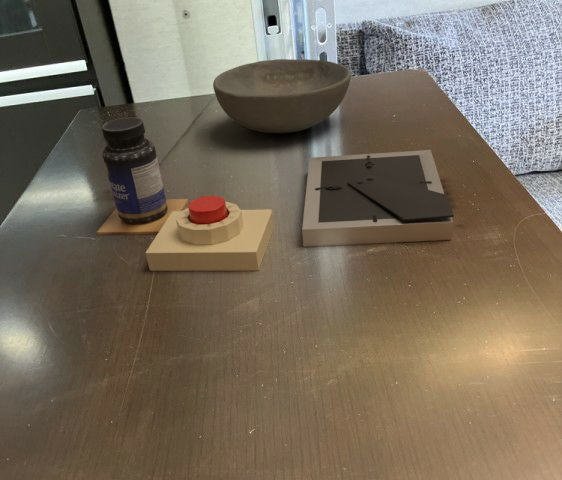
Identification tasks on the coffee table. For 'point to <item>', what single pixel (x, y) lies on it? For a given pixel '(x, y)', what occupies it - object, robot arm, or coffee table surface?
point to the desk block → (212, 242)
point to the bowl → (282, 93)
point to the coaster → (122, 228)
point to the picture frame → (375, 200)
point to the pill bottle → (133, 171)
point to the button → (207, 210)
